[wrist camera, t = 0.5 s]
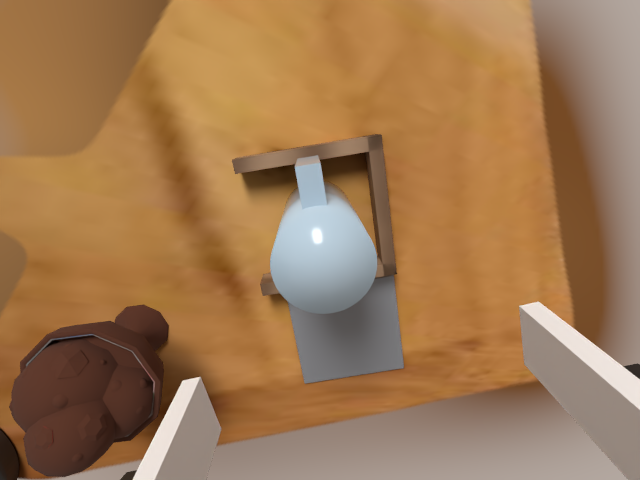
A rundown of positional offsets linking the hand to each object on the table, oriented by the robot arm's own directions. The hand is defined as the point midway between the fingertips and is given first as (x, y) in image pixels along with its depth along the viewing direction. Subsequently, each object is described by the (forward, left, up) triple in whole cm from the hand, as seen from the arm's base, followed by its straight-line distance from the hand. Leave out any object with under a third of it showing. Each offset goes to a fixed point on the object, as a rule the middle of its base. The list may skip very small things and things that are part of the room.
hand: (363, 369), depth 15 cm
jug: (-1, +3, -22) cm, 22 cm away
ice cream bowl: (-21, -7, -22) cm, 31 cm away
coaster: (0, -11, -22) cm, 25 cm away
